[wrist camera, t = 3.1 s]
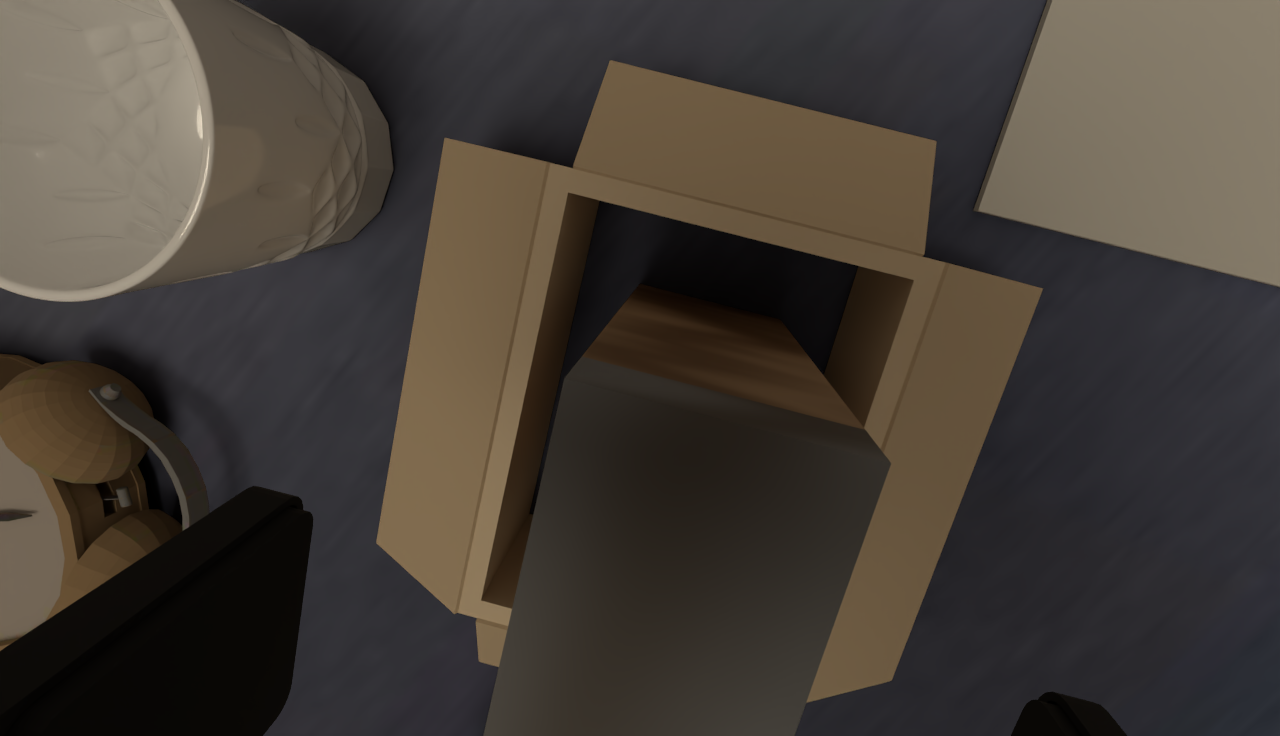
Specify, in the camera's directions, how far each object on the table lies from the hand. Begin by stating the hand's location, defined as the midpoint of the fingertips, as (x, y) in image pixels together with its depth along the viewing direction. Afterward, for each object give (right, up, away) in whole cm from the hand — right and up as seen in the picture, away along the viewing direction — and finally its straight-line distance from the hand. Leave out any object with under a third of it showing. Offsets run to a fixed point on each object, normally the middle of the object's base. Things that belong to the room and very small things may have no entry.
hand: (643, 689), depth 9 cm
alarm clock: (-23, 0, +19) cm, 30 cm away
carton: (+2, +3, +16) cm, 16 cm away
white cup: (-12, +12, +15) cm, 22 cm away
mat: (+17, +13, +12) cm, 25 cm away
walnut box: (+2, +3, +16) cm, 16 cm away
